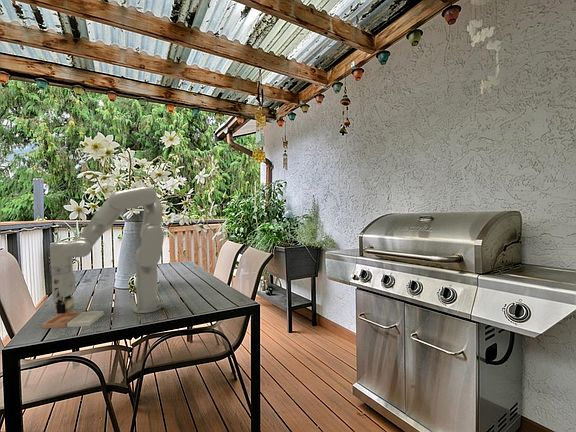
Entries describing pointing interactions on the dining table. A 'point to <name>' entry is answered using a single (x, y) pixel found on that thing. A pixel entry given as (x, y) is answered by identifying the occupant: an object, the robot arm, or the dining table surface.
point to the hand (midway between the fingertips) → (65, 310)
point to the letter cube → (67, 305)
